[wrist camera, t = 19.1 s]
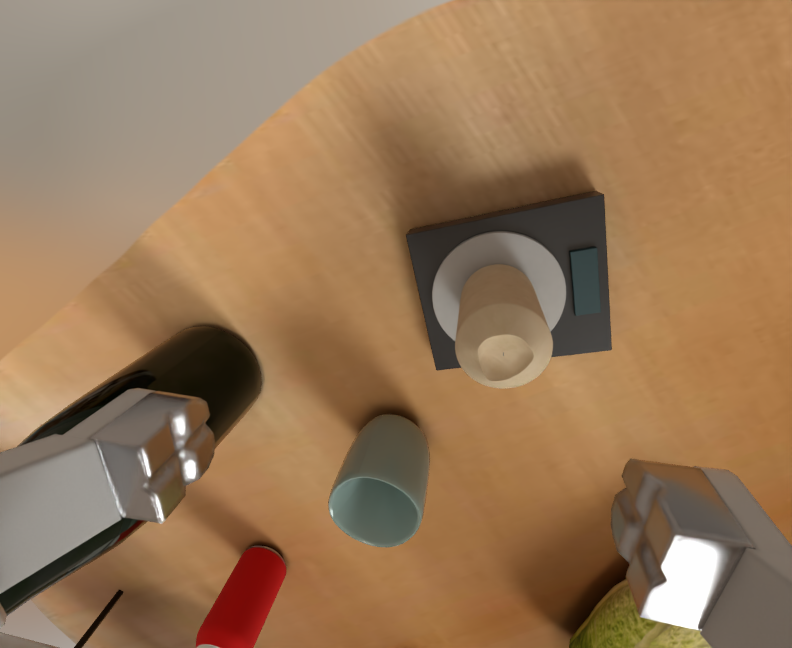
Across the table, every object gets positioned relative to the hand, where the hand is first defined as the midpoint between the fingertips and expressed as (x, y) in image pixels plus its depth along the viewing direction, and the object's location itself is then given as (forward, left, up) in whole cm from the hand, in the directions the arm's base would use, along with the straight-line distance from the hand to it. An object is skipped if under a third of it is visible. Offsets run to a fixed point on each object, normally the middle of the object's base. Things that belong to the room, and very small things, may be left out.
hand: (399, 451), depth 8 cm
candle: (+6, +2, -24) cm, 25 cm away
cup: (+20, -10, -27) cm, 35 cm away
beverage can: (+38, -32, -27) cm, 57 cm away
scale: (+6, +3, -27) cm, 28 cm away
